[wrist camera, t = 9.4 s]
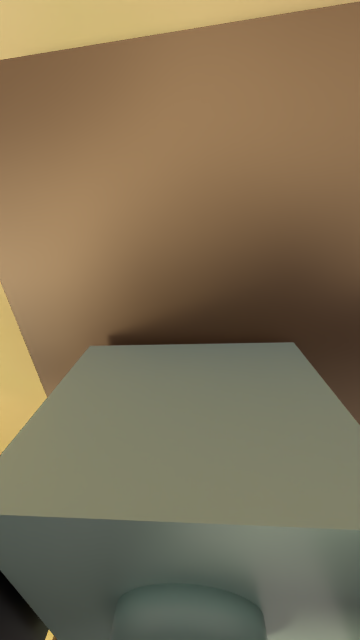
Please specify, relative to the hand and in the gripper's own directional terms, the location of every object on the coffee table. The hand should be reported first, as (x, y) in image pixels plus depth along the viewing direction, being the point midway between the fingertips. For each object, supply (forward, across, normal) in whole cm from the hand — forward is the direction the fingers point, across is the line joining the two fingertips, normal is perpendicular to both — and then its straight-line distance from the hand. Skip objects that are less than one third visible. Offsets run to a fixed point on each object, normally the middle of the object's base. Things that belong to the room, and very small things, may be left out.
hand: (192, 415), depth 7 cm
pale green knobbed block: (0, 0, 0) cm, 0 cm away
